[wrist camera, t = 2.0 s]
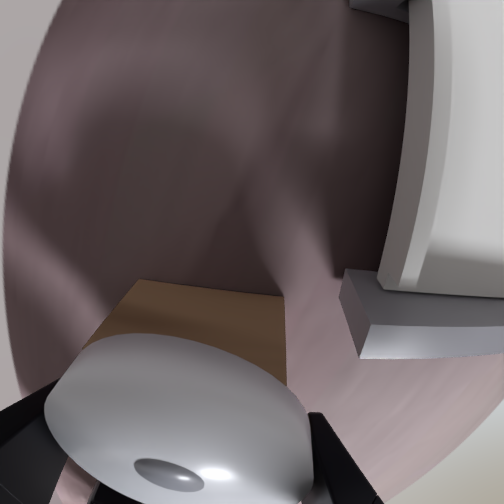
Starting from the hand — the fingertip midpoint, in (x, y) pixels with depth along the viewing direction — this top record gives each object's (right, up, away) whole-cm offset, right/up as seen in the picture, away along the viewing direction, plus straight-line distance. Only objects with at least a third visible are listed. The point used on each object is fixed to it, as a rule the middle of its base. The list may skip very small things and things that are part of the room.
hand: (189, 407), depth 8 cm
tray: (+11, +8, -1) cm, 13 cm away
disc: (0, 0, -1) cm, 1 cm away
